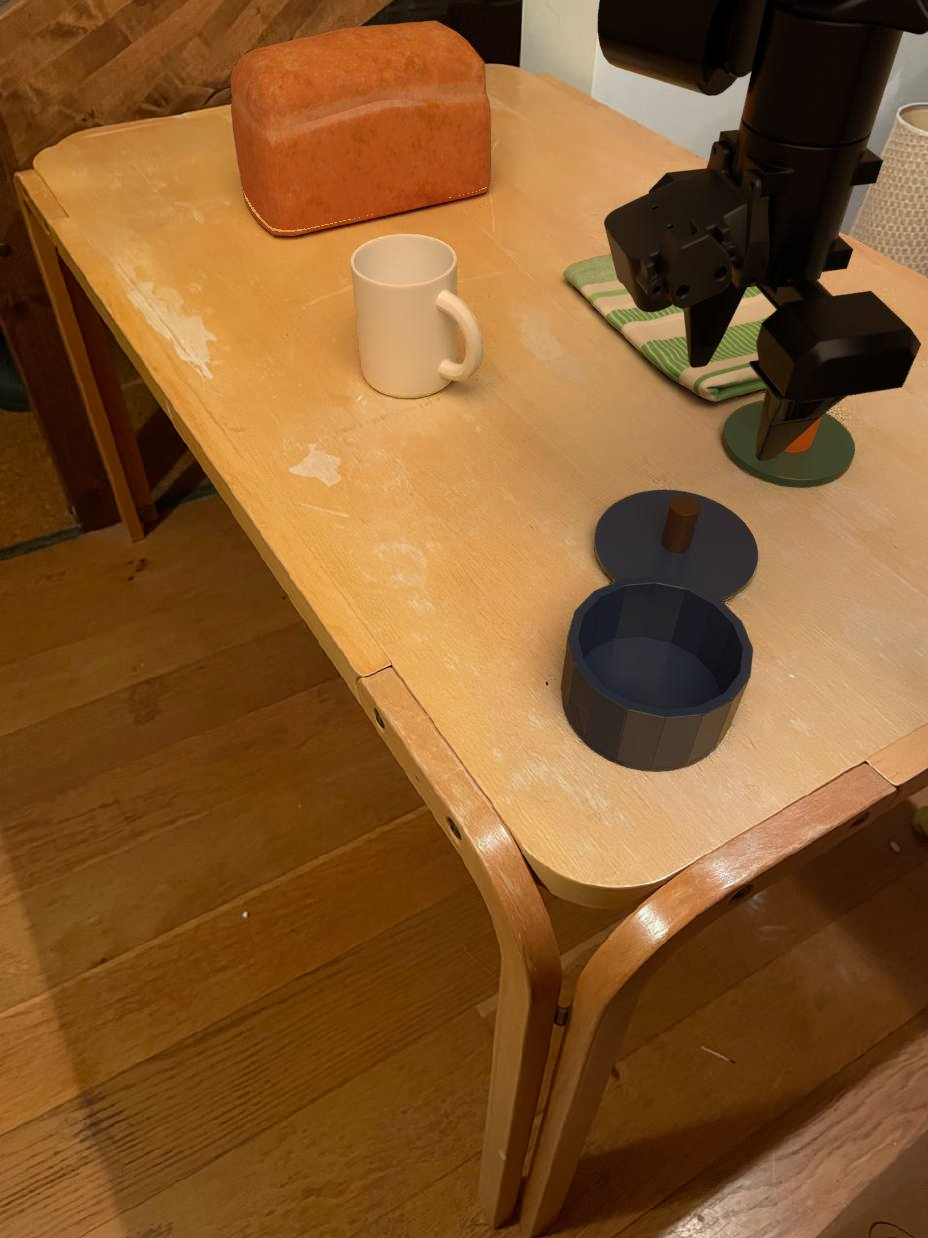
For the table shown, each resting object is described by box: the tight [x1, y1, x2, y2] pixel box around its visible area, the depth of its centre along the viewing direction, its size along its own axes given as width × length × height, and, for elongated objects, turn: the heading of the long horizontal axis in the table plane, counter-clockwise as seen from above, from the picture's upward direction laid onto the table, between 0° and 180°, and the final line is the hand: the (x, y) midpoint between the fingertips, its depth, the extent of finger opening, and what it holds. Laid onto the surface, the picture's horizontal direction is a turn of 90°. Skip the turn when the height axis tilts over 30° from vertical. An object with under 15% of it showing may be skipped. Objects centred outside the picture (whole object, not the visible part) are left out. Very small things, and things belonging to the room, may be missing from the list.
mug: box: [349, 233, 484, 399], centre depth 72 cm, size 12×8×10 cm
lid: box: [593, 489, 759, 603], centre depth 61 cm, size 11×11×5 cm
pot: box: [560, 576, 754, 773], centre depth 52 cm, size 10×10×6 cm
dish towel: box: [562, 253, 776, 403], centre depth 81 cm, size 18×23×3 cm
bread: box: [229, 20, 492, 237], centre depth 93 cm, size 14×26×16 cm, turn 116°
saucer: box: [721, 400, 856, 488], centre depth 70 cm, size 10×10×1 cm
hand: (729, 409), depth 52 cm, fingers open, 9 cm apart
